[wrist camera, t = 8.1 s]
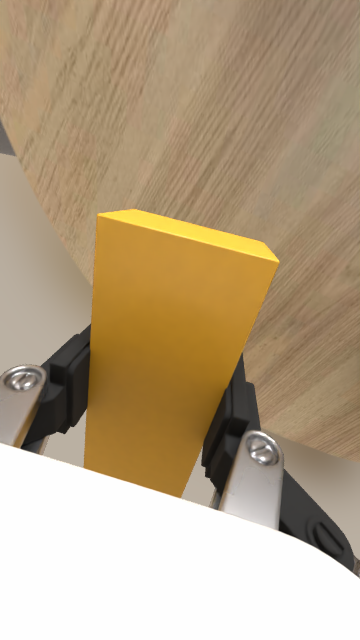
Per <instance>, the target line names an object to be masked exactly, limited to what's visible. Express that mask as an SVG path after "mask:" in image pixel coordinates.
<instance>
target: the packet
mask: <svg viewBox="0 0 360 640" xmlns="http://www.w3.org/2000/svg"><path fill="white" fill-rule="evenodd" d="M279 263H280V261H279V260H278V259H277V258H276V257H275V255H274V254H273V253H272V252H271V251H270V249H269V248H268V247H267V246H266V245H265V243H264V242H260V241H257V240H253V239H249V238H245V237H241V236H237V235H233V234H229V233H226V232H222V231H218V230H214V229H210V228H206V227H202V226H198V225H194V224H191V223H187V222H183V221H179V220H175V219H171V218H167V217H163V216H160V215H156V214H152V213H148V212H144V211H140V210H136V209H131V210H123V211H116V212H108V213H101V214H97V222H96V241H95V260H94V279H93V299H92V318H91V336H90V350H91V352H90V370H89V388H88V407H87V413H86V432H85V451H84V469H87V470H91V471H94V472H97V473H100V474H104V475H107V476H110V477H113V478H117V479H120V480H123V481H126V482H129V483H133V484H136V485H139V486H142V487H145V488H149V489H152V490H155V491H158V492H161V493H165V494H168V495H171V496H174V497H177V498H180V499H181V496H182V494H183V491H184V489H185V487H186V484H187V482H188V480H189V477H190V475H191V472H192V470H193V467H194V465H195V463H196V461H197V458H198V456H199V453H200V451H201V449H202V446H203V441H204V439H205V437H206V434H207V432H208V429H209V427H210V425H211V422H212V420H213V417H214V415H215V413H216V410H217V408H218V406H219V403H220V401H221V398H222V396H223V394H224V391H225V389H226V388H227V387H228V384H229V382H230V380H231V377H232V375H233V372H234V370H235V368H236V365H237V363H238V361H239V358H240V356H241V353H242V351H243V349H244V346H245V344H246V342H247V339H248V337H249V334H250V332H251V330H252V327H253V325H254V322H255V320H256V318H257V315H258V313H259V311H260V308H261V306H262V303H263V301H264V299H265V296H266V294H267V292H268V289H269V287H270V284H271V282H272V280H273V277H274V275H275V272H276V270H277V268H278V265H279Z"/></svg>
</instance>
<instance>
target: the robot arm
mask: <svg viewBox="0 0 360 640" xmlns="http://www.w3.org/2000/svg"><path fill="white" fill-rule="evenodd" d="M90 336H91V324H90V325H89V326H88V327H87V328H86V329H85V330H84V331H82V332H81V333H80V334H76V335H74V336H73V337H72V338H71V339H70V340H69V341H67V342H66V343H65V344H64V345H63V346H62V347H61V348H60V349H59V350H58V351H57V352H56V353H54V354H53V355H52V356H51V357H50V358H49V359H48V360H47V361H46V362H45V363H43V364H42V365H41V366H37V365H20V366H16V367H13V368H11V369H9V370H7V371H6V372H4V373H3V374H2V375H1V376H0V640H360V560H358V559H357V558H356V557H355V556H354V555H353V552H352V549H351V546H350V544H349V542H348V540H347V538H346V537H345V535H344V533H343V532H342V531H341V530H340V528H339V527H338V526H337V525H336V524H335V523H334V521H332V519H330V517H329V516H328V515H327V514H326V513H325V512H324V511H323V510H322V509H321V508H320V507H319V505H317V503H316V502H315V501H314V500H313V499H312V498H311V497H310V496H309V495H308V494H307V493H306V492H305V491H304V489H303V488H302V487H301V486H300V485H299V484H298V483H297V482H296V481H295V480H294V479H293V478H292V477H291V476H290V475H289V474H288V473H287V471H286V470H285V469H284V454H283V452H282V449H281V448H280V446H279V445H278V443H277V442H276V441H275V440H274V439H273V438H272V437H271V436H269V435H268V434H266V433H264V432H262V431H261V428H260V421H259V415H258V408H257V401H256V395H255V388H254V385H253V384H252V383H249V382H246V380H245V371H244V362H243V353H241V356H240V358H239V361H238V363H237V365H236V368H235V370H234V372H233V375H232V377H231V380H230V382H229V384H228V387H227V388H226V389H225V391H224V394H223V396H222V398H221V401H220V403H219V406H218V408H217V410H216V413H215V415H214V417H213V420H212V422H211V425H210V427H209V429H208V432H207V434H206V437H205V439H204V441H203V452H202V464H201V465H202V466H203V467H206V471H205V477H208V478H210V480H211V482H212V483H213V485H214V486H215V490H214V494H213V497H212V499H211V502H210V505H209V507H205V506H202V505H199V504H196V503H193V502H190V501H187V500H183V499H180V498H177V497H174V496H171V495H168V494H165V493H161V492H158V491H155V490H152V489H149V488H145V487H142V486H139V485H136V484H133V483H129V482H126V481H123V480H120V479H117V478H113V477H110V476H107V475H104V474H100V473H97V472H94V471H91V470H87V469H84V468H81V467H78V466H74V465H71V464H68V463H65V462H61V461H58V460H55V459H52V458H48V457H45V456H42V455H43V453H44V450H45V447H46V445H47V442H48V439H49V436H50V435H51V434H54V433H56V432H60V433H63V434H65V433H66V432H67V430H68V429H69V428H70V426H71V427H74V426H75V425H76V424H77V423H78V421H79V420H80V418H81V416H82V415H83V413H84V412H85V410H86V409H87V407H88V388H89V370H90V352H91V350H90Z"/></svg>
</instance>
